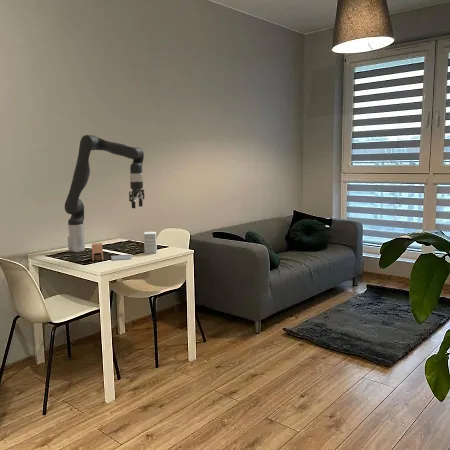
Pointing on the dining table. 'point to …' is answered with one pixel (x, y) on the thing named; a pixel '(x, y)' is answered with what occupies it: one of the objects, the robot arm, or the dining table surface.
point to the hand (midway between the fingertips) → (137, 207)
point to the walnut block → (97, 257)
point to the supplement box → (150, 243)
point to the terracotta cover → (97, 250)
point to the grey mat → (120, 257)
